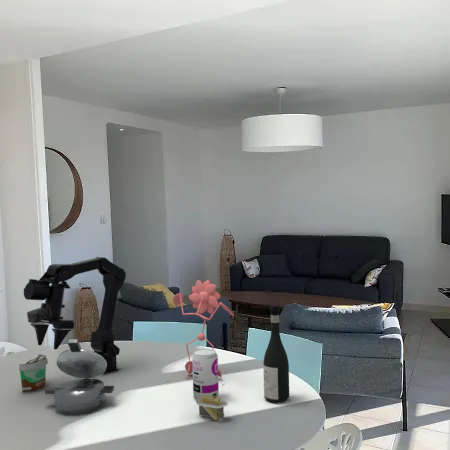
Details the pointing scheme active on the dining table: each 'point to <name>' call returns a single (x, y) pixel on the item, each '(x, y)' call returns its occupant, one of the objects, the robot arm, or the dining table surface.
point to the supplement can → (205, 373)
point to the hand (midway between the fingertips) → (47, 347)
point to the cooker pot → (79, 396)
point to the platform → (211, 407)
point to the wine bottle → (276, 364)
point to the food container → (33, 374)
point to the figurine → (201, 310)
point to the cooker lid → (81, 361)
